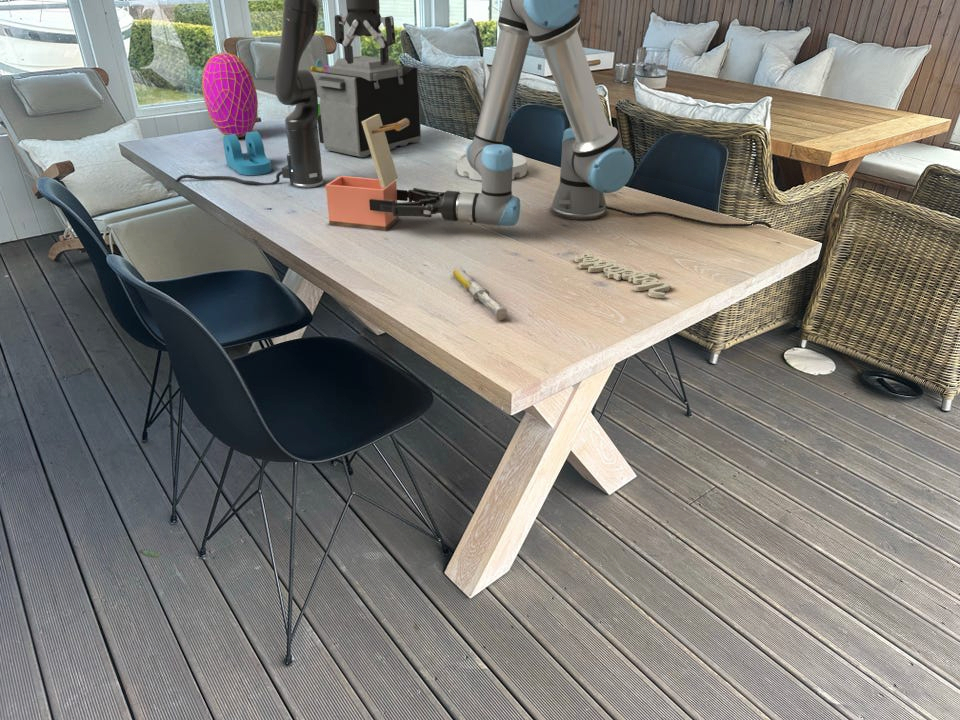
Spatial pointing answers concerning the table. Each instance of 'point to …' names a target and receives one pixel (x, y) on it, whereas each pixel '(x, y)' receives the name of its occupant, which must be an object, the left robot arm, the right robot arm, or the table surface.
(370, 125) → the lid
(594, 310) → the table surface
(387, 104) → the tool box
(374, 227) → the chest
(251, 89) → the decorative egg
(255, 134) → the camera mount
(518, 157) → the ashtray
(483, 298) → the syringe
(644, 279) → the decorative sign
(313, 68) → the potted flower
